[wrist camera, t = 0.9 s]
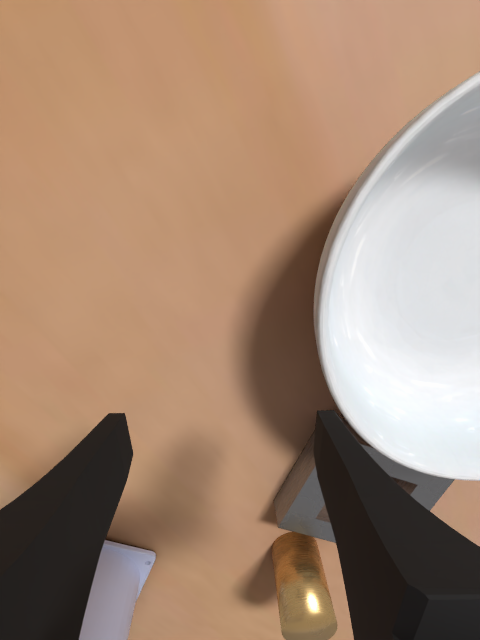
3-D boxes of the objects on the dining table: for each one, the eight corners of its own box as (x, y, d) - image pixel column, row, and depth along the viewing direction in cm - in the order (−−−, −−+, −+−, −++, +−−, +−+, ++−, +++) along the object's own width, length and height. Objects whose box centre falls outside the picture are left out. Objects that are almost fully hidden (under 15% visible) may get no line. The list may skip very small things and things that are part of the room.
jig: (380, 530, 31) (392, 557, 28) (273, 500, 29) (277, 527, 27) (439, 451, 28) (457, 475, 25) (324, 413, 26) (334, 435, 24)
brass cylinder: (305, 567, 32) (321, 649, 26) (264, 557, 31) (272, 639, 26) (325, 538, 31) (347, 617, 25) (283, 526, 30) (296, 606, 25)
